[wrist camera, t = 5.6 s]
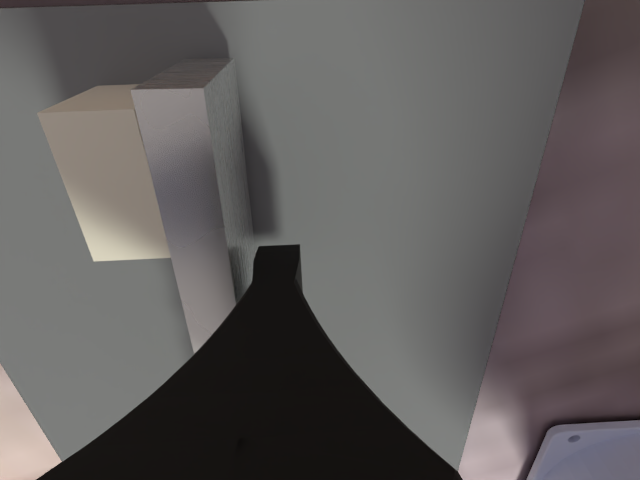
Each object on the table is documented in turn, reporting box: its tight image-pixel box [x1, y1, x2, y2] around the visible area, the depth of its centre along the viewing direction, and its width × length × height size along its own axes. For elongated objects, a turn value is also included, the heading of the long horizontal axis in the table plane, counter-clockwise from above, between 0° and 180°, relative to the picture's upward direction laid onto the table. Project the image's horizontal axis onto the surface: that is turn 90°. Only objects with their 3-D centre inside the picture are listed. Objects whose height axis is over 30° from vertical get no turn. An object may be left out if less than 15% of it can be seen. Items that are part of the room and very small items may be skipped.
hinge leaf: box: [131, 58, 256, 354], centre depth 10 cm, size 11×1×3 cm, turn 1°
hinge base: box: [0, 0, 585, 471], centre depth 13 cm, size 16×22×4 cm
